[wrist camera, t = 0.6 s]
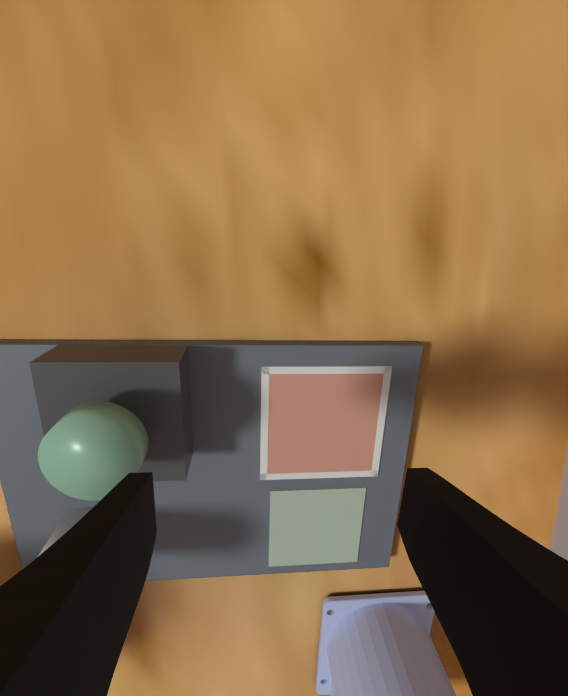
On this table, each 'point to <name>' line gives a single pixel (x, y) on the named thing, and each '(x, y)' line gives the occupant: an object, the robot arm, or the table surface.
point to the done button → (92, 449)
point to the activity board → (248, 456)
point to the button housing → (124, 394)
